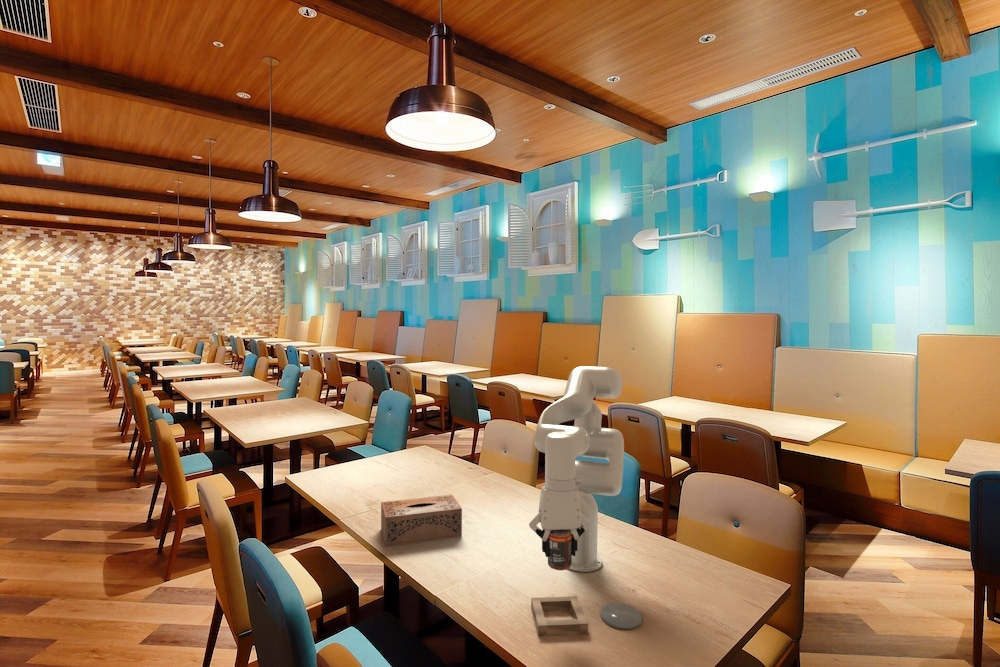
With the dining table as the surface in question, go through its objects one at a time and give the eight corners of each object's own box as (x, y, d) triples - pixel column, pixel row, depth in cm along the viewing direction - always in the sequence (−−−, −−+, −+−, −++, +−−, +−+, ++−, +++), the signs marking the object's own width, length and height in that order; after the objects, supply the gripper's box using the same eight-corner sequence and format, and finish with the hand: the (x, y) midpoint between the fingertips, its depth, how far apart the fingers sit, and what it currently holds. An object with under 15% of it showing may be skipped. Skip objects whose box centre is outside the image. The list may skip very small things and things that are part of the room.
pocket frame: (531, 607, 132) (531, 597, 132) (576, 605, 133) (576, 596, 133) (538, 636, 120) (538, 625, 120) (588, 633, 121) (588, 623, 121)
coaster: (596, 606, 133) (596, 603, 132) (633, 605, 133) (633, 602, 133) (607, 630, 123) (607, 627, 123) (647, 628, 123) (647, 625, 123)
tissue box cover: (385, 547, 166) (385, 517, 166) (381, 530, 180) (381, 502, 180) (461, 537, 175) (461, 508, 174) (452, 521, 188) (452, 494, 188)
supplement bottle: (569, 559, 130) (569, 516, 129) (573, 571, 124) (574, 526, 123) (546, 559, 130) (546, 516, 129) (549, 571, 124) (549, 526, 123)
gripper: (590, 477, 130) (589, 545, 131) (523, 478, 129) (523, 548, 130) (598, 487, 123) (597, 560, 123) (527, 489, 121) (527, 562, 122)
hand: (559, 553), depth 126 cm, fingers closed on supplement bottle, 6 cm apart
